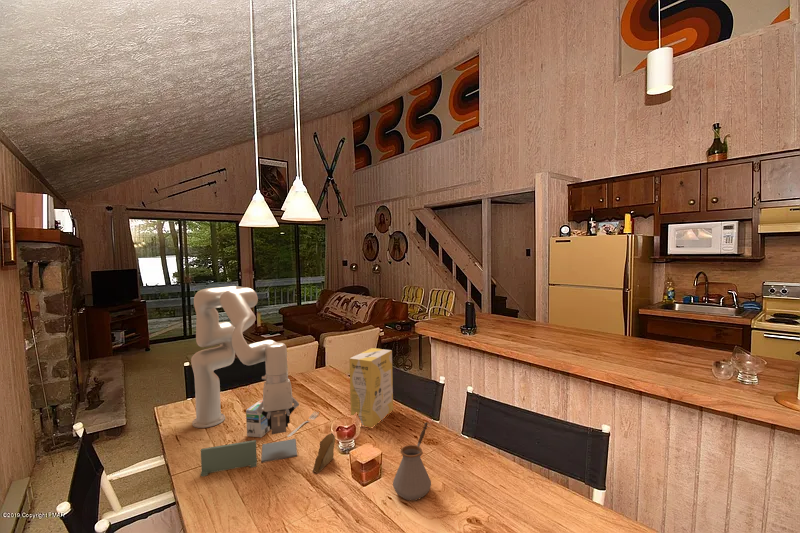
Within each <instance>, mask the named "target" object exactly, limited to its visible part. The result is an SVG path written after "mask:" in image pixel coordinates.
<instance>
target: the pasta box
mask: <svg viewBox="0 0 800 533" xmlns="http://www.w3.org/2000/svg"><path fill="white" fill-rule="evenodd" d="M348 359H349V390H350V391H349V392H350V394H349V395H350V396H349V397H350V398H349V399H350V416H351V415H354V414H355V413H356V412H357V414H358V416H359V418H360V420H361V423H362V425H364V426H368V427H373V426H374V425H376V424H377V423H378V422H379V421H380V420H382V419H383V418H384V417H385V416H386V415H387V414H389V413H390V412H391V411H392V410H393V411H394V393H393V392H394V389H393V388H394V387H393V384H394V383H393V381H394V380H393V350H391V349H386V348H385V349H384V348H383V349H382V348H375V347H371V348H369V349H367V350H365V351H362V352H360V353H359V354H358V353H357V354H355V355H353V356H351V357H349V358H348ZM382 421H383V420H382ZM376 426H377V425H376Z"/></svg>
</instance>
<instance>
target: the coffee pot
mask: <svg viewBox="0 0 800 533" xmlns="http://www.w3.org/2000/svg"><path fill="white" fill-rule="evenodd" d="M428 425H429V426H428ZM430 427H431V424H430V423H429V422H427V421H426V422H424V423H423V427H422V430H421V432H420V433H419V439H418V440H417V445H415V444H409V445H408V444H407V445H404V446H403V447H401V448H400V453H401V455H402V459H401V461H400V463H399V466H398V468H397V470H396V473H395V476H394V478H393V481H392V486H393V489H394V491H395V493H396V494H397V495H398V496H399V497H401V498H402V497H403V498H402V499H404V500H406V501H410V500H415V501H417V500H416V499H419V498H421V497H422V498H423V497H424V496H426V495H427V494H428V493H429V492H430V490H431V486H432V480H431V478H430V476H429V474H428V471H427V469H426V466H425V465H424V463H423V461H422V456H423V454H424V453H423V449H422V447H420V446H421V443H422V441H423V439H424V438H425V437H424V436H425V435H426V431H427V428H430ZM422 498H421V499H422ZM419 500H420V499H419Z"/></svg>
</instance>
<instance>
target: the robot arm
mask: <svg viewBox="0 0 800 533" xmlns="http://www.w3.org/2000/svg"><path fill="white" fill-rule="evenodd" d="M258 299H259V297H258V295H257V292H256V290H254V288H250V287H244V286H239V285H237V286H236V285H230V286H221V287H219V286H218V287H207V288H203V289H199V290H198V291H197V292H196V293H195V295H194V297H193V307H194V311H195V315H196V320H195V321H196V323H195V324H196V328H195V329H196V330H195V341H196V345H197V346H198V347H200V348H205V349H202V350H201V349H200V350H199V351H196V352H195V353H194V354H193V355H192V356H191V359H190V360H191V361H190V362H191V363H190V364H191V368H192V372H193V376H194V392H195V394H194V396H195V416H196V417H195V419H193V420H192V422H191V424H192V427H194V428H197V429H203V428H204V429H206V428H211V427H215V426H217V425H219V424H221V423H223V422H224V421H225V419H226V415H225V414H224V413H222V410H221V387H220V386H221V384H220V378H219V376H218V375H217V374H216V373H215V372H214V371H215V370H216V371H217V370H218V369H221V368H226V367H229V366H231V365H232V364H233V363H234V361H235V358H236V356H237V358H238V360H239V361H240V362H241V363H242V364H243V365H244V366H245V365H246V366H253V365H257V364H259V363H262V362H265V363H264V364H265V374H264V375H262V376H261V380H262V381H264V383H263V389H262V400H263V401H262V402H261V404H260V405H259V407H258V408H257V412H259V413H261V414H262V415H263V416H265V417H266V418H267V422H268V427H269V426H270V430H271V431H272V428H271V412H272V411H279V410H286V428H289V424H291V422H290V421H291V420H290V416H291V414H292V413H293V412H294V411H295V409H297V408H298V407H299V406H300V403H299V401H298V400H297V399H296V398H295V397H293V389H292V388H293V387H292V383H291V380H290V378H289V372H288V348H287V345H286V344H285V343H283V342H277V341H275V340H273V339H264V340H262V341H256V342H251V343H247V340H246V339H245V338H244V335H243V334H244V332H246V330H248V329H249V328H250V327H252V326H253V325H254V324H255V321H257V318H256V315H255V313H254V312H253V311H252V309H251V308H254V307H255V306H257V305H258V302H259V300H258ZM218 308H222V309H223V311H224V312H225V314H226V315H227V317H228V318H229V321H230V322H229V321H219V320H220V319H219V318H220V315H219V314H220V313H219V311H218V310H217V309H218ZM262 408H263V409H264V410H263V409H262ZM270 430H269V431H270Z"/></svg>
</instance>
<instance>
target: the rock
mask: <svg viewBox="0 0 800 533" xmlns="http://www.w3.org/2000/svg"><path fill="white" fill-rule="evenodd" d="M335 443H336V436H335V434H334V433H332V432H331V433H329V434H326V436H325V437H323V438H322V440H320V441H319V448H318V452H317V455H316V458H315V461H314V462H315V463H314V466H313V468H312V472H315V473H320V472H321V471H322V470H323V469H324V468H325V467H326V466H327V465H328V464H329V463H330V462H331V461H332V460H333V459H334V453H335V452H334V448H335Z"/></svg>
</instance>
